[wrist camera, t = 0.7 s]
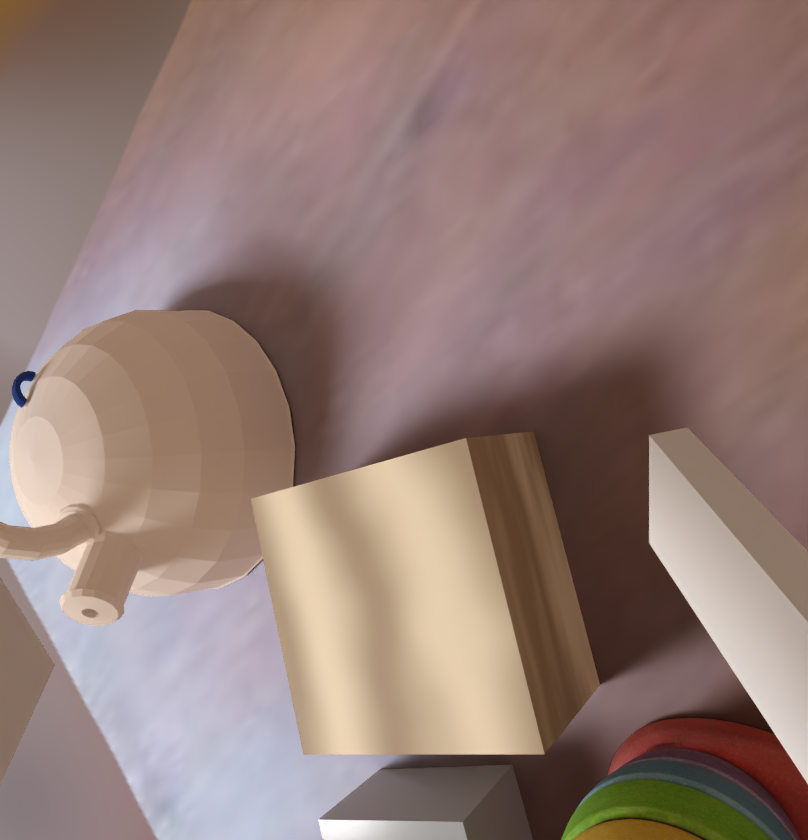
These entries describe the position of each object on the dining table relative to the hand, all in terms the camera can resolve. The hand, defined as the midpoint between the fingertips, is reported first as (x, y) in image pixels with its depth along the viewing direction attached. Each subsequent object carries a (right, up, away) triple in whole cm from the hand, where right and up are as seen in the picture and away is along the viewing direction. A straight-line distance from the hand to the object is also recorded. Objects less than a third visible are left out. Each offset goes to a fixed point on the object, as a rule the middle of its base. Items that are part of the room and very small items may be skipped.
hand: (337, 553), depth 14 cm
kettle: (-14, 0, +35) cm, 38 cm away
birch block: (+4, -6, +24) cm, 25 cm away
